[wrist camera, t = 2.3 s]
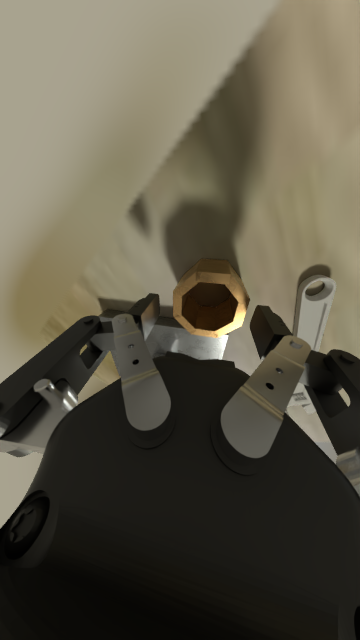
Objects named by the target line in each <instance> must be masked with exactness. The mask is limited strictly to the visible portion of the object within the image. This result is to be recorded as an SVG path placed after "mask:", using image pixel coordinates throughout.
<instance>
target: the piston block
mask: <svg viewBox="0 0 360 640" xmlns="http://www.w3.org/2000/svg"><path fill="white" fill-rule="evenodd" d="M126 313H127V312H122V311H114V310H105V311H104V312H103V313H102V314H100V315H99V316H98V317H99V318H100V320H101V322H106V321H112V319H113V318H114V317H115V316H117V315H120V314H126ZM227 339H228V333H226V334H224V335H222V336H220V337H218V338H213V337H206V336H199V335H193V334H190V333H189V332H188V331H187V330H186V329H185V328H184V327H183V326H182V325H181V324H180V323H179V322H178V321H177V320H176V319H173V318H166V317H158V319H157V321H156V323H155V324H154V326H153V328H152V330H151V331H150V333H149V335H148V337H147V338H146V340H145V343H146V345H147V348H148V350H149V353H150V355H151V357H152V359H153V358H155V357H159V356H165V355H166V352H167V351H171V352H177V353H183V354H185V355H188V356H191V357H193V358H196V359H199V360H206V359H220V360H222V357H223V353H224V349H225V346H226V342H227ZM110 351H111V354H112V356H113V359H114V362H115V365H116V368H117V370H118V373H119V376H120V370H119V365H118V359H117V353H116V350H110Z"/></svg>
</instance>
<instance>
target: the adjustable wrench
mask: <svg viewBox="0 0 360 640" xmlns="http://www.w3.org/2000/svg"><path fill="white" fill-rule="evenodd" d="M319 280H320V281H323V282H324V283H325V286H324V289H323V290H322V291H321V292H320V293H318V294H316V295H313V296H308V295H306V293H305V291H306V289H307V288H308V286H310V285H311V284H312V283H314V282H316V281H319ZM335 290H336V283H335V281H334V280H332V279H331V278H329V277H327V276H324V275H314V276H311V277H309V278H307V279H305V280H304V281H303V282H302V283H301V284H300V286H299V288H298V293H297V303H296V312H295V321H294V330H293V336H296V337H298V338H301V339H303V340H304V341H306V342H307V343H308V344H309V345H310V346H311V350H313V351H317V352H318V351H319V347H320V344H321V340H322V337H323V333H324V329H325V326H326V322H327V319H328V315H329V312H330V308H331V304H332V301H333V297H334V294H335ZM295 405H302V406H303V408H304V410H305V411H306V413H307V414H312V413H314V412H315V411H316V410H315V408H314V406H313V403H312V401H311V399H310V397H309V395H308V393H307V391H306V389H305V387H304V384H301V383H299V382H298V384H297V386H296V389H295V391H294V393H293V395H292V397H291V399H290V402H289V404H288V406H287V408H288V407H290V406H295ZM285 412H286V413H287V414H288V412H287V409H286V410H285ZM288 416H289V415H288Z"/></svg>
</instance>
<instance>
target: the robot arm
mask: <svg viewBox="0 0 360 640" xmlns="http://www.w3.org/2000/svg"><path fill="white" fill-rule="evenodd" d="M159 315H160V302H159V295H158V294H152V293H149V294H148V295H147V297H146V298H143V299H141V300H139V301H138V302H137V303H136V304H135V305H134V306H133V307H132V308H131V309H130V310H129V311H128V312H127V313H126V314H120V315H117V316H115V317H114V318H113V319H112V321H106V322H101V320H100V318H99V317H98V316H86V317H84V318H81V319H80V320H78V321H77V322H76V323H75V324H73V325H72V326H71V327H70V328H68V329H67V330H66V331H65V332H64V333H62V334H61V335H60V336H59V337H57V338H56V339H55V340H54V341H52V342H51V343H50V344H49V345H48V346H46V347H45V348H44V349H43V350H41V351H40V352H39V353H38V354H36V355H35V356H34V357H33V358H31V359H30V360H29V361H28V362H27V363H25V364H24V365H23V366H22V367H20V368H19V369H18V370H17V371H16V372H14V373H13V374H12V375H10V376H9V377H8V378H7V379H6V380H5V381H3V382H2V383H1V384H0V452H6V453H9V454H11V455H13V456H16V457H23V456H26V455H28V454H30V453H32V452H38V453H43V454H44V455H43V458H42V461H41V463H40V466H39V468H38V471H37V473H36V475H35V478H34V480H33V482H32V484H31V486H30V488H29V490H28V492H27V493H26V495H25V497H24V499H23V500H22V502H21V503H20V505H19V506H18V508H17V509H16V510H15V512H14V513H13V514H12V515H11V517H10V518H9V519H8V520H7V522H6V523H5V524H4V525H3V526H2V528H1V529H0V640H360V359H359V358H357V357H355V356H354V355H352V354H350V353H348V352H345V351H342V350H336V349H333V350H331V351H329V353H328V354H327V355H326V354H323V353H320V352H317V351H313V350H311V346H310V345H309V344H308V343H307V342H306V341H304V340H303V339H301V338H298V337H296V336H293V335H292V333H291V332H290V330H289V329H288V328H287V326H286V325H285V323H284V322H283V320H282V319H281V317H279V316H278V315H277V314H275V313H273V312H272V310H271V309H270V307H269V306H261V305H258V306H257V307H256V309H255V311H254V314H253V317H252V319H251V322H250V330H251V333H252V336H253V339H254V342H255V345H256V348H257V351H258V354H259V357H260V360H263V361H262V363H261V364H260V365H259V366H258V368H257V369H256V370H255V371H254V373H253V374H252V375H251V376H249V375H248V374H246V373H245V372H243V371H242V370H240V369H237V368H235V364H234V362H232V361H226V360H220V359H206V360H199V359H196V358H193V357H191V356H188V355H185V354H183V353H177V352H171V351H167V352H166V355H165V356H159V357H155V358H153V359H152V357H151V355H150V353H149V350H148V348H147V345H146V343H145V340H146V338H147V337H148V335H149V333H150V331H151V330H152V328H153V326H154V324H155V323H156V321H157V319H158V317H159ZM85 344H86V345H87V348H86V349H85V350H84V351H83V353H82V354H81V355H80V350H81V349H82V347H83V346H84V345H85ZM110 350H116V353H117V359H118V365H119V370H120V376H121V378H120V379H118V380H116V381H115V382H113V383H112V384H110V385H108V386H107V387H105V388H104V389H102V390H100V391H99V392H97V393H96V394H94V395H93V396H91V397H89V398H88V399H86V400H85V401H83V402H82V403H80V404H78V405H77V402H78V396H77V395H78V394H79V392H80V391H81V390H82V388H83V387H84V385H85V384H86V383H87V381H88V380H89V378H90V377H91V376H92V374H93V373H94V371H95V370H96V369H97V367H98V366H99V364H100V363H101V362H102V360H103V359H104V357H105V356H106V355H107V353H108V352H109V351H110ZM298 382H299V383H301V384H304V387H305V389H306V391H307V393H308V395H309V397H310V399H311V401H312V403H313V406H314V408H315V410H316V412H317V414H318V416H319V418H320V420H321V422H322V424H323V426H324V428H325V430H326V433H327V435H328V437H329V439H330V441H331V443H332V445H333V447H334V449H335V451H336V453H337V455H338V457H337V459H336V464H335V463H334V462H333V461H332V460H331V459H330V458H329V457H328V456H327V455H326V454H325V453H324V452H323V451H322V450H321V449H320V448H319V447H318V446H317V445H316V444H315V443H314V441H313V440H312V439H311V438H310V437H309V436H308V435H307V434H306V433H305V432H304V431H303V430H302V429H301V428H300V427H299V426H298V425H297V424H296V423H295V422H294V421H293V420H292V419H291V418H290V417H289V416H288V414H287V413H286V412H285V410H286V408H287V406H288V404H289V402H290V399H291V397H292V395H293V393H294V391H295V389H296V386H297V384H298ZM342 388H343V389H344V390H345V391H346V393H347V394H348V396H349V398H350V406H349V407H348V406H347V405H346V403H345V402H344V400H343V399H342V397H341V396H340V394H339V393H338V391H339V390H341V389H342ZM76 405H77V406H76Z"/></svg>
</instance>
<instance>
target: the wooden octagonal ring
mask: <svg viewBox="0 0 360 640" xmlns="http://www.w3.org/2000/svg"><path fill="white" fill-rule="evenodd" d="M199 282H207V283H217V284H225V285H226V287H227V288H228V289H229V290H230V292H231V293H230V297H229V299H227V300H226V301H224V302H222V303H221V304H219V305H218V306H216V307H210V306H202V305H199V304H198V303H197V302H196V301H195V300H194V299H193V297H192V296H191V295H190V294H189V291H190V289H191V288H192V287H194V286H195V285H196V284H197V283H199ZM249 301H250V298H249V296H248V294H247V291H246V289H245V287H244V284H243V282H242V280H241V278H240V277H239V276H238V274H237V273H236V272H235V270H234V269H233V267H232V266H231V265H230V263H229V262H228V261H227V260H217V259H200V260H199V261H198V262H197V263H196V264H195V265H194V266H193V267H192V268H190V269H189V270H188V271H187V272H186V273H185V274H184V275H183V276H182V278H181V280H180V281H179V283H178V284H177V286H176V288H175V289H174V291H173V317H174V318H175V319H176V320H177V321H178V322H179V323H180V324H181V325H182V326H183V327H184V328H185V329H186V330H187V331H188V332H189V333H190V334H193V335H199V336H206V337H213V338H218V337H220V336H222V335H224V334H226V333H228V332H230V331H232V330H234V329H236V328H238V327H240V326H242V323H243V320H244V316H245V313H246V310H247V307H248V304H249Z"/></svg>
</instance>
